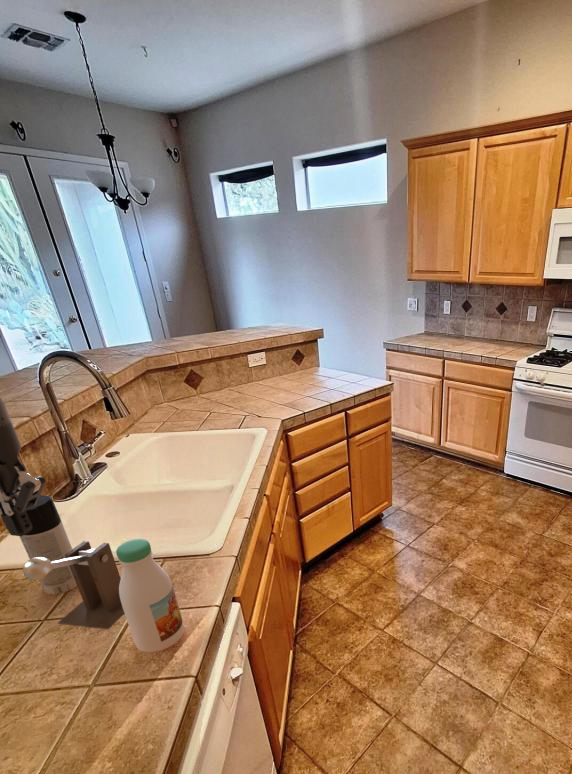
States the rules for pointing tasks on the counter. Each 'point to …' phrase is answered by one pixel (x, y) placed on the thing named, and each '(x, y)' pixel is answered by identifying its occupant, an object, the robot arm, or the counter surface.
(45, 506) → the spray can
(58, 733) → the counter surface
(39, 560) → the tap lever
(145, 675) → the counter surface
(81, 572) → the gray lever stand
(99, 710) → the counter surface
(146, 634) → the milk bottle
